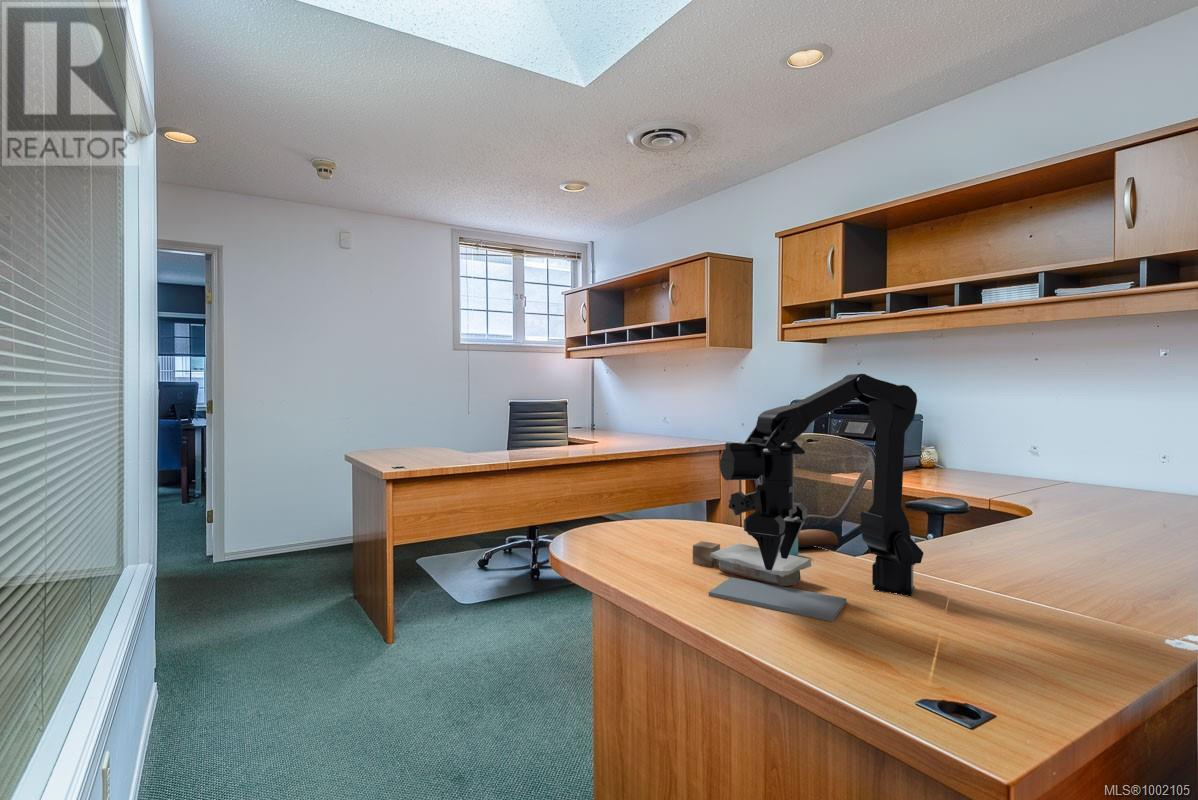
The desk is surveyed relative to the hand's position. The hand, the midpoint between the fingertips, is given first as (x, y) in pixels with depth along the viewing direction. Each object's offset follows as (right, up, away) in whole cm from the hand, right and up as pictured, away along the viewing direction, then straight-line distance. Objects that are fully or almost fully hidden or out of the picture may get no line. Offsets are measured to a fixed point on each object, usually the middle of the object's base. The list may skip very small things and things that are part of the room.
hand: (776, 563), depth 108 cm
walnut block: (-9, -7, +23) cm, 25 cm away
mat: (0, -7, 0) cm, 6 cm away
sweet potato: (+16, -7, +39) cm, 43 cm away
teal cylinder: (+11, -7, +29) cm, 32 cm away
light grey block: (+4, -4, +16) cm, 17 cm away
